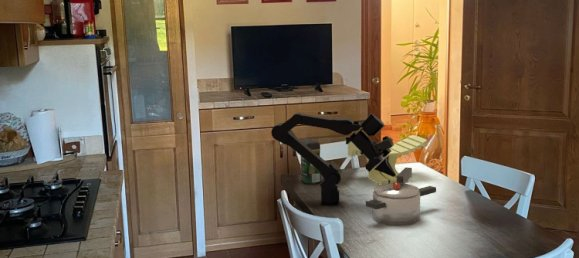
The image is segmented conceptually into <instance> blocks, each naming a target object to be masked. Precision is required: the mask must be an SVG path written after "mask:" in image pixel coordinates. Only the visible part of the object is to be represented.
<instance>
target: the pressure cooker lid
mask: <svg viewBox="0 0 579 258" xmlns="http://www.w3.org/2000/svg"><path fill="white" fill-rule="evenodd" d="M398 173H399V174H398V175H397V182H394V183H388V184H381V185H379V184H377V185H376V186H375V187H374V188H373V191H374V193H375V194H376V195H378V196H381V197H386V198H396V199H401V198H411V197H415V196H417V195H418V194H419V189H420V188H419V187H418V186H416V185H412V184H408V183H406V182H407V181H408V182H409V180H410V179H411V178H412V176H413V167H404V168H403V169H402V170H401V171H400V172H398Z"/></svg>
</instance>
